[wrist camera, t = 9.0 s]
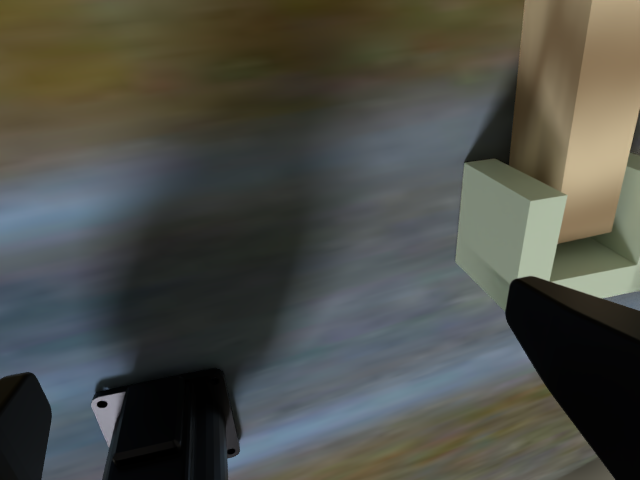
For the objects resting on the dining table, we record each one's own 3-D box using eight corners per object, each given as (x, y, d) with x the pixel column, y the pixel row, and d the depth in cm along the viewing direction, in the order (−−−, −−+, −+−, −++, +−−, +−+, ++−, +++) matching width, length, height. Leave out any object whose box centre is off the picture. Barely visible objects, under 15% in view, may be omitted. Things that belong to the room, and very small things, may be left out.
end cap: (579, 239, 25) (657, 287, 21) (455, 261, 24) (510, 317, 19) (602, 143, 23) (697, 174, 18) (464, 162, 21) (530, 201, 17)
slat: (552, 200, 24) (611, 232, 20) (501, 210, 23) (552, 245, 20) (608, -167, 17) (714, -214, 13) (536, -162, 16) (625, -209, 13)
